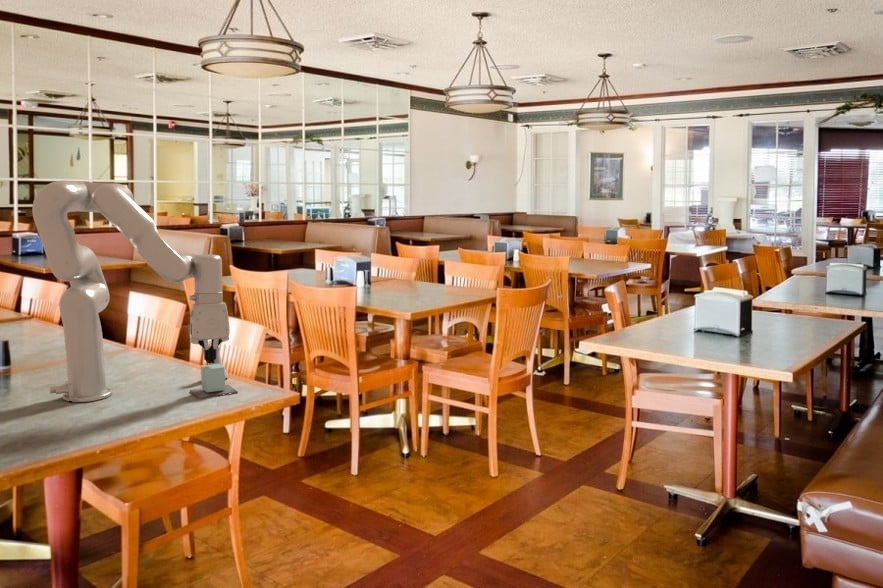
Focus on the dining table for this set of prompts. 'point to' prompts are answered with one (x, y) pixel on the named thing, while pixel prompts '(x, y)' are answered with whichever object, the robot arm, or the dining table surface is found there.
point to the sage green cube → (213, 377)
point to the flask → (219, 360)
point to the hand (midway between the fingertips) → (210, 362)
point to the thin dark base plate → (203, 394)
